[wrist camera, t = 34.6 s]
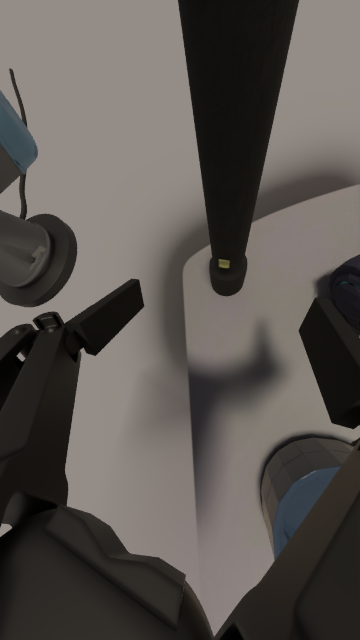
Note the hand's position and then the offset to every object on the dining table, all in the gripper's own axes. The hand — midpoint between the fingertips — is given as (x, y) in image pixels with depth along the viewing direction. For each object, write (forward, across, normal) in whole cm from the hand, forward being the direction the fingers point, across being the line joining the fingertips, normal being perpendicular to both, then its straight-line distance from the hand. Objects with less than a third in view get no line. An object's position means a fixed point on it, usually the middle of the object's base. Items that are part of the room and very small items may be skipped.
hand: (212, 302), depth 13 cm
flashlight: (+15, 0, -4) cm, 16 cm away
